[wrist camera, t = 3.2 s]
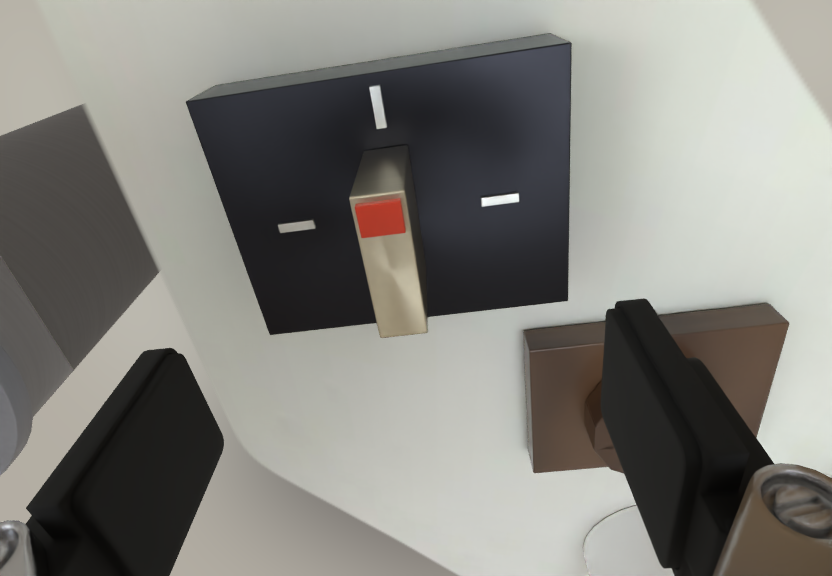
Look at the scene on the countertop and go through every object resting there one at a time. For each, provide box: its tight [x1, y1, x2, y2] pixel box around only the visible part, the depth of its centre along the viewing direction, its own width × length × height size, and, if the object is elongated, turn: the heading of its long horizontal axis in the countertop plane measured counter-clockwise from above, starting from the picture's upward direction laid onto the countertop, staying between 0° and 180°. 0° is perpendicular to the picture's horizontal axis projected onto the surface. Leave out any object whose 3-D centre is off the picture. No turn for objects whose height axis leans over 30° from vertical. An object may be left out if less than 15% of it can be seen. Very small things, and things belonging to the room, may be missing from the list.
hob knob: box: [349, 145, 428, 338], centre depth 17 cm, size 5×2×5 cm, turn 8°
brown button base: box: [523, 304, 789, 473], centre depth 26 cm, size 12×9×4 cm
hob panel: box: [186, 33, 571, 335], centre depth 21 cm, size 13×10×3 cm
